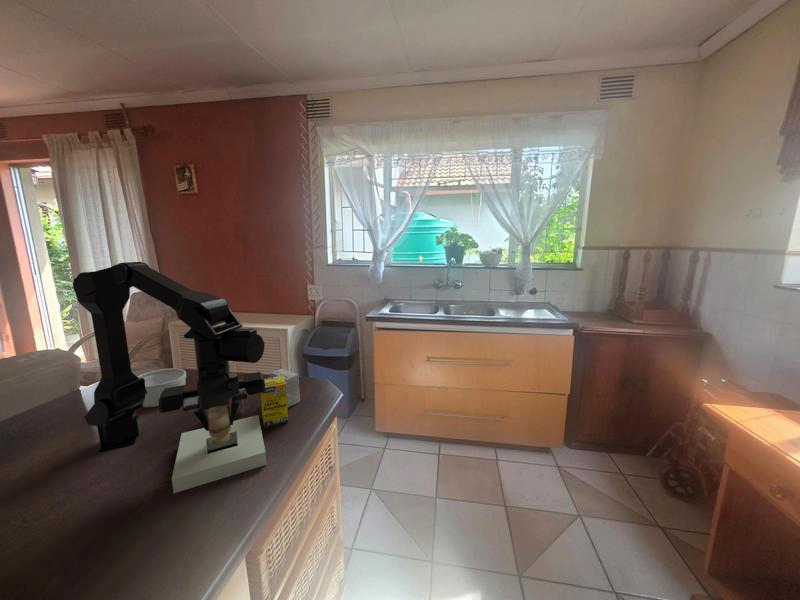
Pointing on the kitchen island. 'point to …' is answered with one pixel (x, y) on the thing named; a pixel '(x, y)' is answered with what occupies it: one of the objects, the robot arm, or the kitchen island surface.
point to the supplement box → (274, 402)
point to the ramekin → (161, 383)
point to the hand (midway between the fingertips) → (219, 427)
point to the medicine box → (289, 385)
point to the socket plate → (218, 455)
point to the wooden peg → (219, 424)
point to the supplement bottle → (240, 407)
